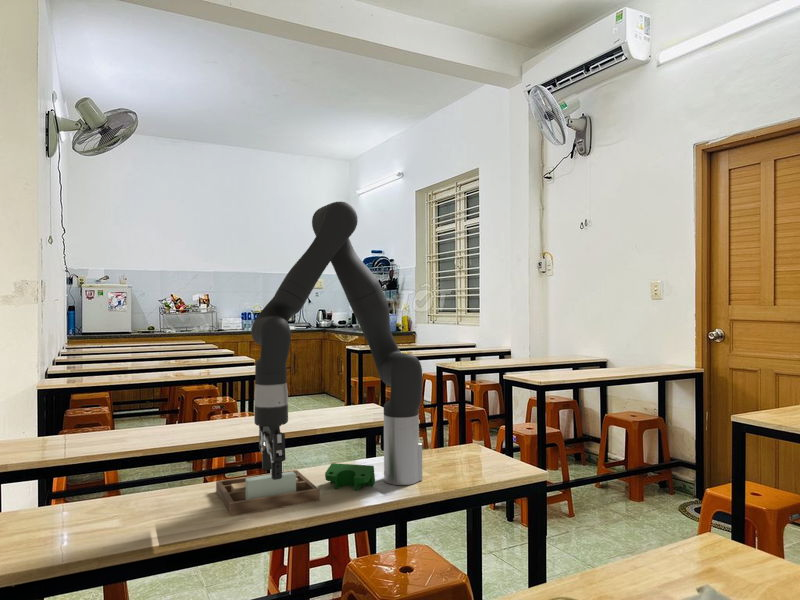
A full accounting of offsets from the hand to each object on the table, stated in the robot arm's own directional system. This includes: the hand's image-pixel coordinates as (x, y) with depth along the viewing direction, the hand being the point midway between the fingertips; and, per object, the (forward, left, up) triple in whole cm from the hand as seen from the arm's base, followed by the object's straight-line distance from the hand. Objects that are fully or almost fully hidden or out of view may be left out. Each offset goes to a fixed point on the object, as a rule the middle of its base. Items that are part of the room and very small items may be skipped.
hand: (271, 474), depth 127 cm
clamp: (-20, -2, -8) cm, 22 cm away
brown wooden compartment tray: (0, -5, -7) cm, 9 cm away
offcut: (+5, -6, -6) cm, 10 cm away
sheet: (+6, 0, -3) cm, 7 cm away
